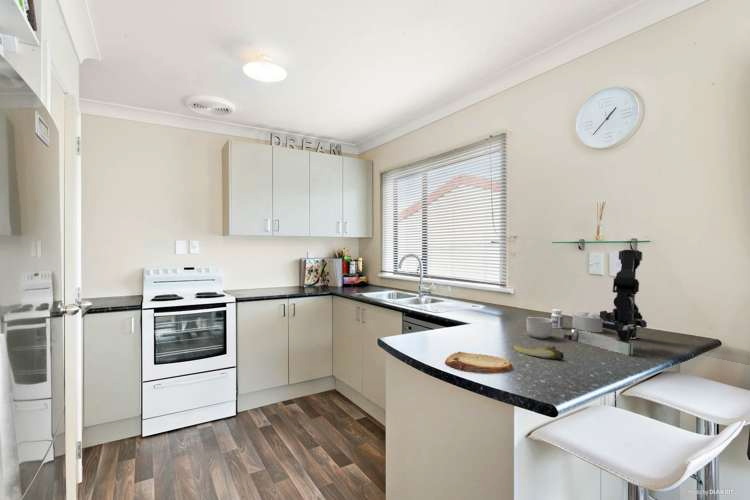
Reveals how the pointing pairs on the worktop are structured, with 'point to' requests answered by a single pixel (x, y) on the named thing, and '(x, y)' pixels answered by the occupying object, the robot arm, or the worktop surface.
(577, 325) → the lumpy-topped squat cylinder
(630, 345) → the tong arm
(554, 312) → the pill bottle
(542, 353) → the olive green elongated piece
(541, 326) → the teacup
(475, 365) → the bread slice
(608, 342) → the tongs fixed arm
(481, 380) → the worktop surface
